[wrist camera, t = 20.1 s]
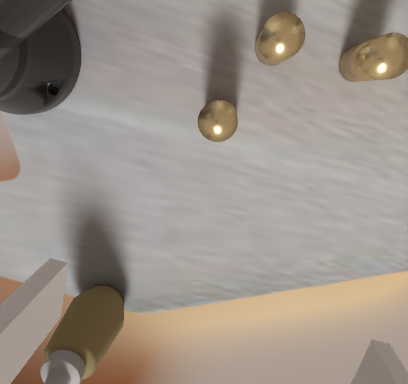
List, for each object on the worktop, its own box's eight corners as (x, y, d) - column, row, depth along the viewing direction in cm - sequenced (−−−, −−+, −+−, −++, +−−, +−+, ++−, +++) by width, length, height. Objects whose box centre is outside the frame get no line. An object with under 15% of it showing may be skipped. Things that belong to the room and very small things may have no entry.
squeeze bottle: (133, 324, 53) (86, 437, 36) (82, 323, 54) (12, 433, 36) (128, 277, 51) (75, 374, 33) (75, 277, 51) (-3, 371, 34)
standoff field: (202, 32, 40) (194, 16, 32) (466, 20, 38) (535, 0, 29) (204, 132, 44) (198, 142, 35) (448, 127, 41) (505, 136, 33)
